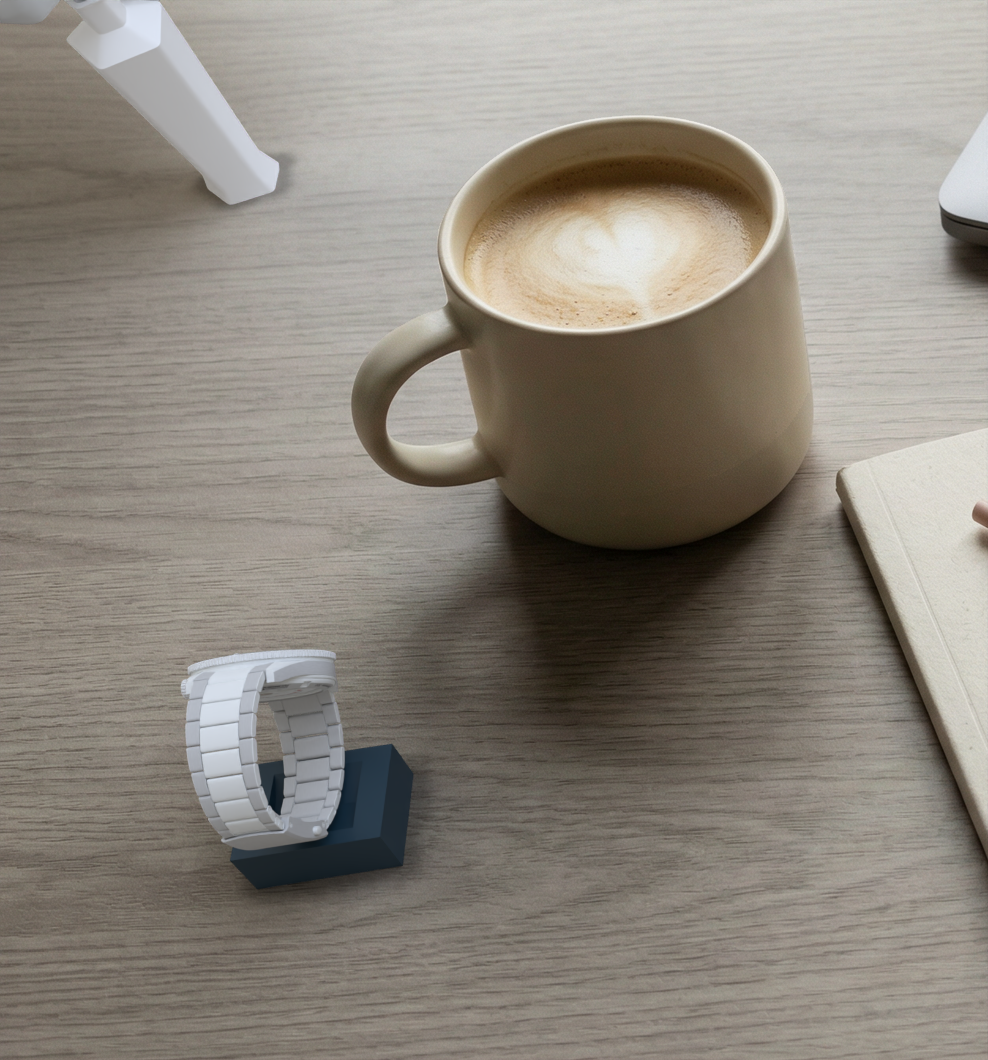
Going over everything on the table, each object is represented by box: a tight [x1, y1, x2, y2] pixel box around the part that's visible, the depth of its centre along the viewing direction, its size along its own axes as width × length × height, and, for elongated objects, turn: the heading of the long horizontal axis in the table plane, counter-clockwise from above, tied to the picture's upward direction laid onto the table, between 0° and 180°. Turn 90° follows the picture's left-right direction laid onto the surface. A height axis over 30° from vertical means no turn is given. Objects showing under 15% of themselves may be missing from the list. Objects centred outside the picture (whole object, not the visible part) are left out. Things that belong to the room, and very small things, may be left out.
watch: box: [180, 648, 415, 890], centre depth 65 cm, size 6×8×11 cm
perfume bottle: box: [63, 0, 280, 206], centre depth 87 cm, size 5×4×15 cm
